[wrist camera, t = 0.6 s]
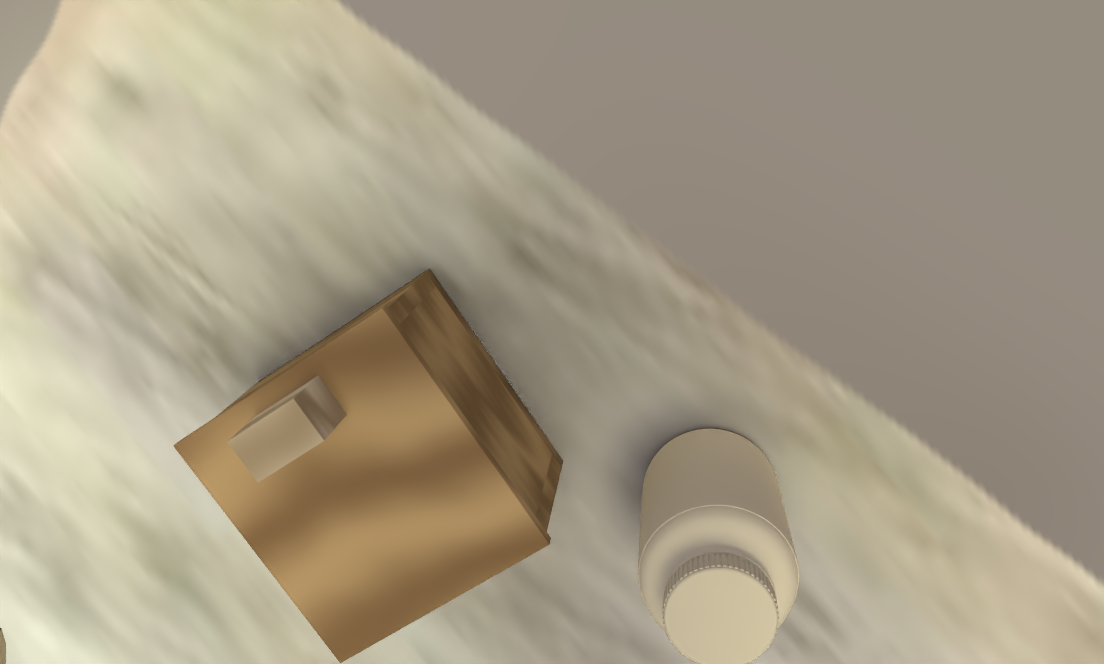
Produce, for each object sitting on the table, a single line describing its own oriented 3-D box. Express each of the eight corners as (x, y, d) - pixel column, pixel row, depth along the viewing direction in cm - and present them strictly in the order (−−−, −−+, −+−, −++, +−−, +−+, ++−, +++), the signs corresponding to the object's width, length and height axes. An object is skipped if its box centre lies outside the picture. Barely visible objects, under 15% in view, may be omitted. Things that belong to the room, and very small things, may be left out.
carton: (563, 461, 62) (545, 535, 52) (391, 561, 65) (345, 650, 55) (429, 268, 60) (385, 309, 50) (258, 382, 62) (185, 441, 53)
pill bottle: (617, 462, 62) (604, 587, 47) (737, 402, 60) (762, 512, 45) (681, 569, 63) (687, 722, 49) (800, 513, 61) (843, 654, 47)
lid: (550, 537, 52) (541, 579, 48) (344, 655, 55) (318, 704, 51) (385, 304, 50) (361, 327, 46) (179, 440, 53) (139, 473, 49)
